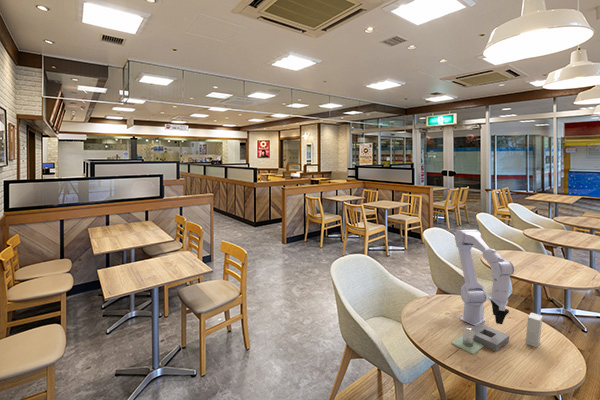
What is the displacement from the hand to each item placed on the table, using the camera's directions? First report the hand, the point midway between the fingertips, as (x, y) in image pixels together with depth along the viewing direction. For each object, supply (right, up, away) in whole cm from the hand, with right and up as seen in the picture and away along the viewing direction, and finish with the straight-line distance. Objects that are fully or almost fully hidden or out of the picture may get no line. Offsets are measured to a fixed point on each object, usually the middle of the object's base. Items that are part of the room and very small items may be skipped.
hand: (497, 319), depth 134 cm
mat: (-14, -10, -3) cm, 18 cm away
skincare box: (+14, -10, -1) cm, 17 cm away
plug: (-14, -9, -3) cm, 17 cm away
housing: (-4, -9, +1) cm, 10 cm away
